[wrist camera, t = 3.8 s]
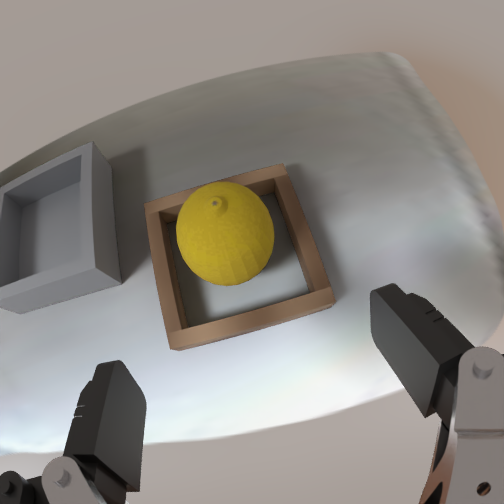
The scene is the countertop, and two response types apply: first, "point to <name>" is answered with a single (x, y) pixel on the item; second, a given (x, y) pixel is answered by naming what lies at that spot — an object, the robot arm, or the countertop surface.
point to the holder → (58, 232)
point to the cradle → (261, 318)
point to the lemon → (225, 233)
